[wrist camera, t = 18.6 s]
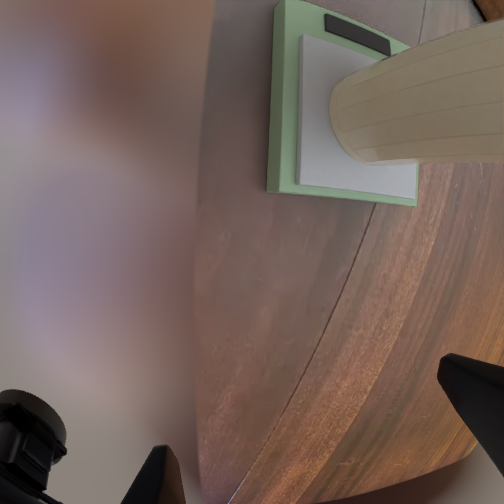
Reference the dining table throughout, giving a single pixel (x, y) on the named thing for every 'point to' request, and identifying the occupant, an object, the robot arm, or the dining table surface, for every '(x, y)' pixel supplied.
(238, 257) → the dining table surface
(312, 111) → the scale
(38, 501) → the robot arm
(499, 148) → the cup
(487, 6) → the bread
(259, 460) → the dining table surface
